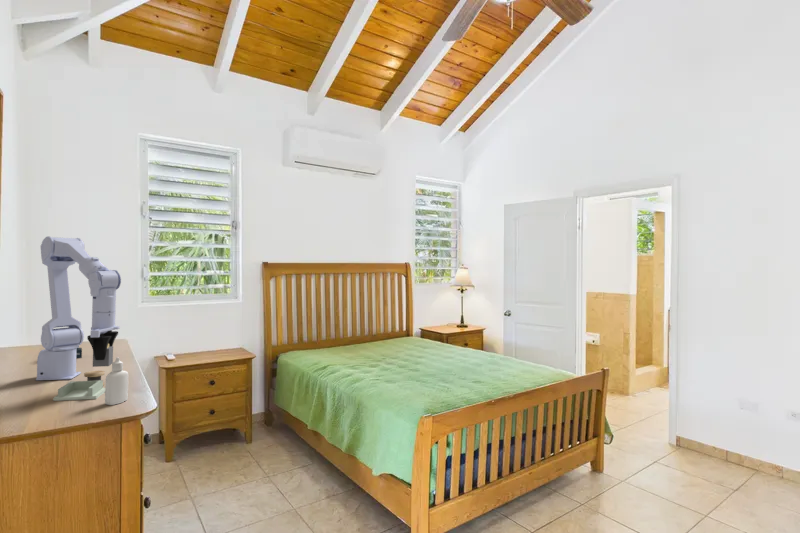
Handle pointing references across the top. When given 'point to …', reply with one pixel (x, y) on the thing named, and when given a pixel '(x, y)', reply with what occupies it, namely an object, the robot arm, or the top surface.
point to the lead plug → (107, 360)
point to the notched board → (80, 390)
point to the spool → (94, 375)
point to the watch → (79, 353)
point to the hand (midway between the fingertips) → (102, 358)
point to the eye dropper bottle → (116, 384)
